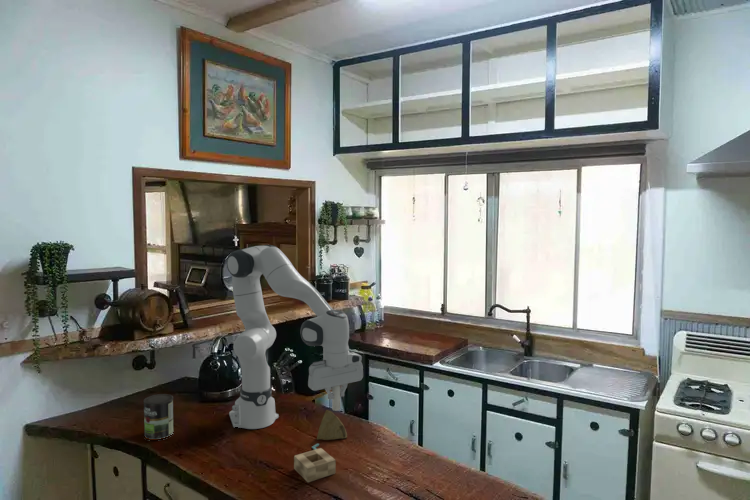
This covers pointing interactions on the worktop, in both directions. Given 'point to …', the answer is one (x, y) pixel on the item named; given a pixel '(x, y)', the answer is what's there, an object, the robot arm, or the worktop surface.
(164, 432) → the coffee can
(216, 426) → the worktop surface
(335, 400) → the long grey cylinder
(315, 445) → the hex key
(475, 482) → the worktop surface
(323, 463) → the wooden block with hole
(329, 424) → the rock
